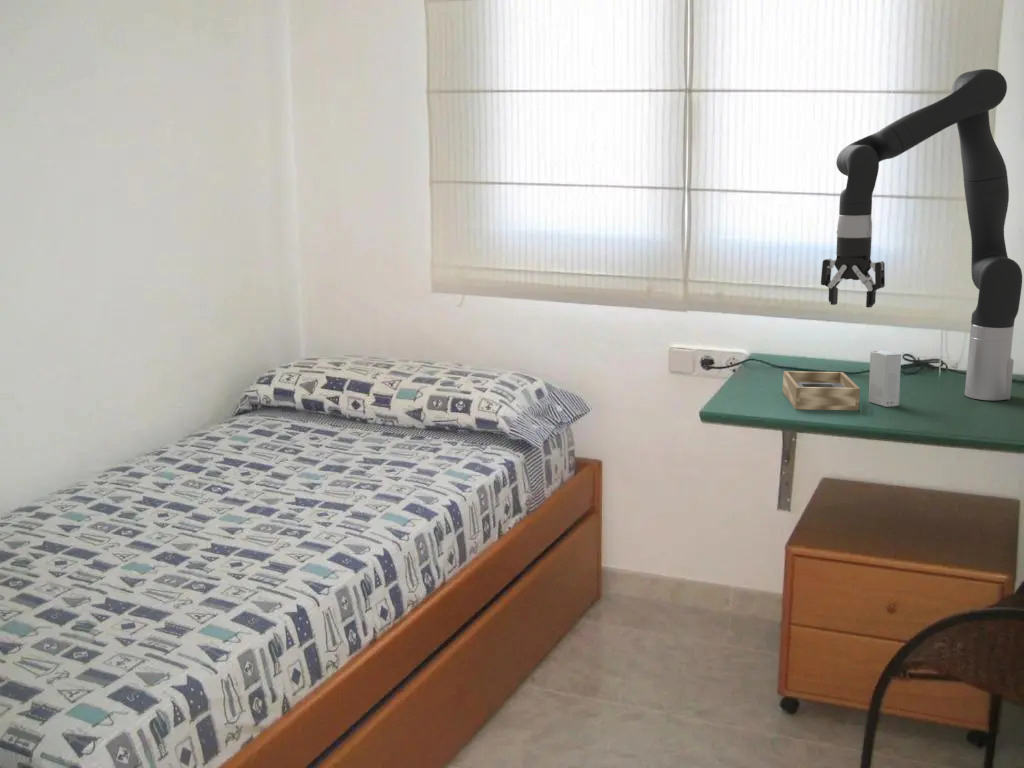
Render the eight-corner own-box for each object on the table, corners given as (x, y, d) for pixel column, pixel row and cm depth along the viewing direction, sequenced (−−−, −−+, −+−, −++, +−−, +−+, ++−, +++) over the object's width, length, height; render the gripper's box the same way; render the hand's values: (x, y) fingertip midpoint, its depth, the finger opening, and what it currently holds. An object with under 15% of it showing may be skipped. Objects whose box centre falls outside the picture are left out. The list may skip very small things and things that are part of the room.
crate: (841, 392, 269) (842, 372, 268) (858, 410, 252) (860, 388, 250) (782, 391, 270) (783, 371, 269) (795, 409, 253) (796, 387, 251)
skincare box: (899, 406, 256) (903, 353, 253) (883, 407, 254) (887, 355, 252) (882, 400, 261) (886, 349, 259) (866, 401, 260) (869, 350, 257)
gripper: (891, 234, 252) (888, 306, 255) (831, 232, 261) (829, 301, 264) (878, 237, 246) (874, 310, 250) (817, 235, 255) (815, 305, 259)
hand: (851, 305), depth 257 cm, fingers open, 8 cm apart
